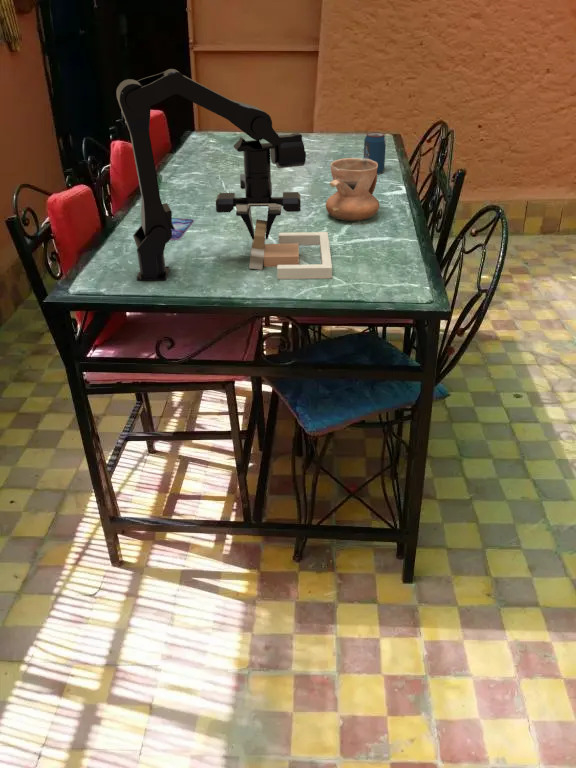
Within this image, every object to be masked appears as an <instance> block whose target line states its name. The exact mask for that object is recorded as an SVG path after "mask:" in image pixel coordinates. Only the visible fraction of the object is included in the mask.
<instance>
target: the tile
mask: <svg viewBox="0 0 576 768" xmlns="http://www.w3.org/2000/svg"><path fill="white" fill-rule="evenodd" d="M299 251H300V250H299V245H298V243H296V244H279V243H265V249H264V259H263V267H264V268H265V267H267V268H270V267H276V268H277V265H300V262H299V260H300V259H299V258H300V257H299Z"/></svg>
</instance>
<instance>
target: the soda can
mask: <svg viewBox="0 0 576 768" xmlns="http://www.w3.org/2000/svg"><path fill="white" fill-rule="evenodd" d="M363 141H364V143H363V144H364V145H363V159H370V160H372V161H375V162H377V164H378V168H377V175H380V174H383V171H385V170H384V169H385V161H386V148H387V138H386V135H385V133H384V132H381V131H380V132H379V131H371V132H368V133H366V136H365V138H364V140H363Z"/></svg>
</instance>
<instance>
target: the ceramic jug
mask: <svg viewBox="0 0 576 768" xmlns="http://www.w3.org/2000/svg"><path fill="white" fill-rule="evenodd" d="M377 168H378V164H377V162H375V161H372V160H370V159H364V157H363V158H362V157H346V158H345V157H344V158H340V159H336V160H334V161H332V162H331V163H330V172H331V176H332V177H331V178H332V179H333V180H331V181H330V182H329V186H330V187H332V188H336V190H337V191H335V193H333V194H332V195H330V196H329V197H328V198H327V200H326V203H325V208H326V211H327V213H328V214H329V215H330V216H331V217H333V218H334V219H338V220H341V221H345V222H346V221H349V222H357V221H358V222H359V221H364V220H367V219H370V218H372V217H374V216H375V215H377V213H378V212H379V210H380V202H379V200H378V199H377V197H375V195H373V194H374V192H375V189H376V186H377V182H378V174H377Z"/></svg>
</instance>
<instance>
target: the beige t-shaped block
mask: <svg viewBox="0 0 576 768" xmlns="http://www.w3.org/2000/svg"><path fill="white" fill-rule="evenodd" d="M266 225H267V220H263V219H256V221H255V228H254V240H251V241H252V243H251V250H250V255H249V256H250V257H249V265H248V268H249V269H254V270H260V271H262V270H263V267H264V249H265V244H266Z"/></svg>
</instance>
